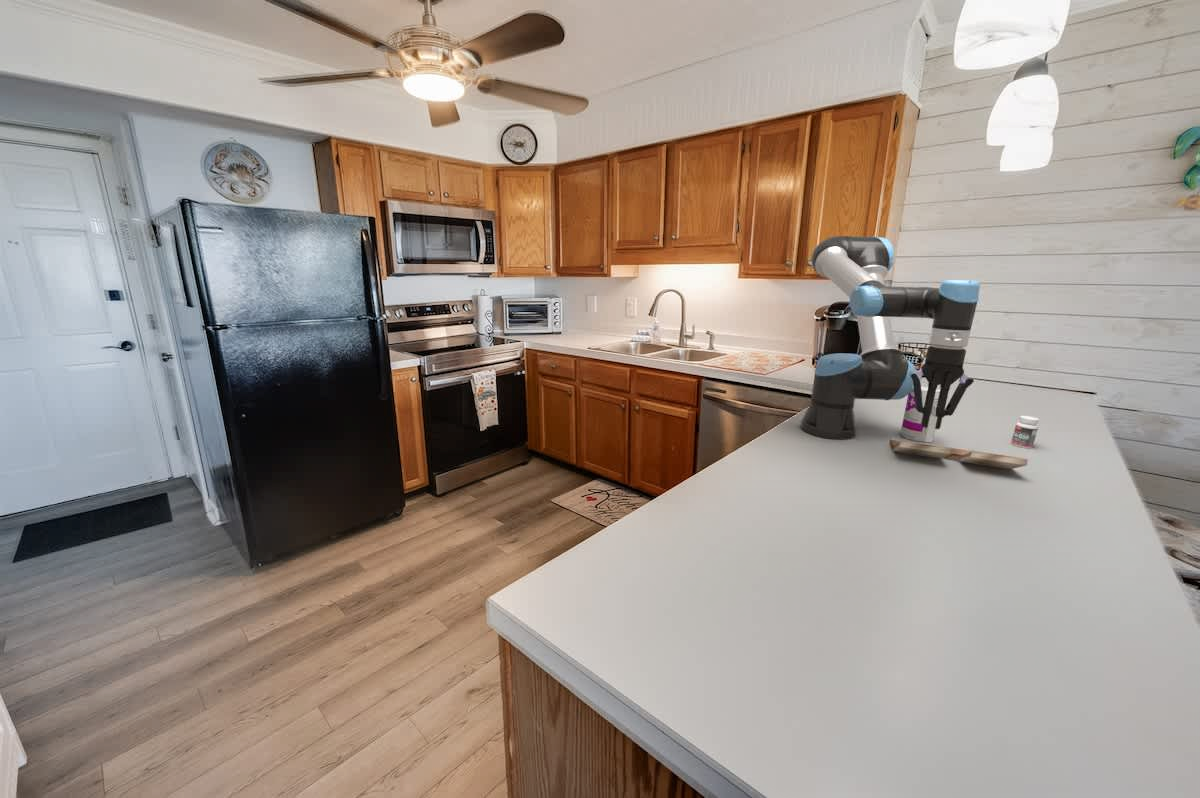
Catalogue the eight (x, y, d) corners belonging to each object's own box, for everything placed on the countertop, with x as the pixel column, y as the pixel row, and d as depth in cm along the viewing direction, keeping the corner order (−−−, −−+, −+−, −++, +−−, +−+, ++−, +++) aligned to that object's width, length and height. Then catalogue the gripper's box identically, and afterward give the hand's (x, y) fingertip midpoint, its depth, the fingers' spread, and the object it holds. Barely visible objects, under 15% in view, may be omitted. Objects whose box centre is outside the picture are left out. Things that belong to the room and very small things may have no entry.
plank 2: (970, 456, 117) (971, 450, 117) (959, 461, 124) (960, 455, 124) (1027, 465, 112) (1027, 458, 113) (1012, 468, 120) (1012, 463, 120)
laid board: (892, 450, 130) (893, 445, 130) (889, 443, 136) (890, 438, 135) (1011, 468, 121) (1012, 462, 120) (1002, 460, 126) (1004, 454, 125)
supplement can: (904, 440, 139) (915, 390, 135) (896, 431, 146) (906, 384, 142) (937, 444, 136) (948, 393, 132) (927, 435, 144) (937, 386, 140)
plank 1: (899, 446, 122) (900, 440, 123) (893, 451, 130) (893, 445, 130) (951, 454, 118) (951, 448, 118) (941, 458, 125) (941, 452, 126)
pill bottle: (1007, 443, 138) (1014, 416, 136) (1016, 441, 140) (1023, 414, 138) (1026, 449, 134) (1034, 421, 132) (1035, 447, 136) (1043, 419, 134)
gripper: (918, 346, 113) (899, 440, 119) (985, 351, 108) (962, 449, 114) (912, 342, 120) (895, 432, 126) (975, 347, 115) (954, 439, 121)
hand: (927, 440), depth 120 cm, fingers closed
